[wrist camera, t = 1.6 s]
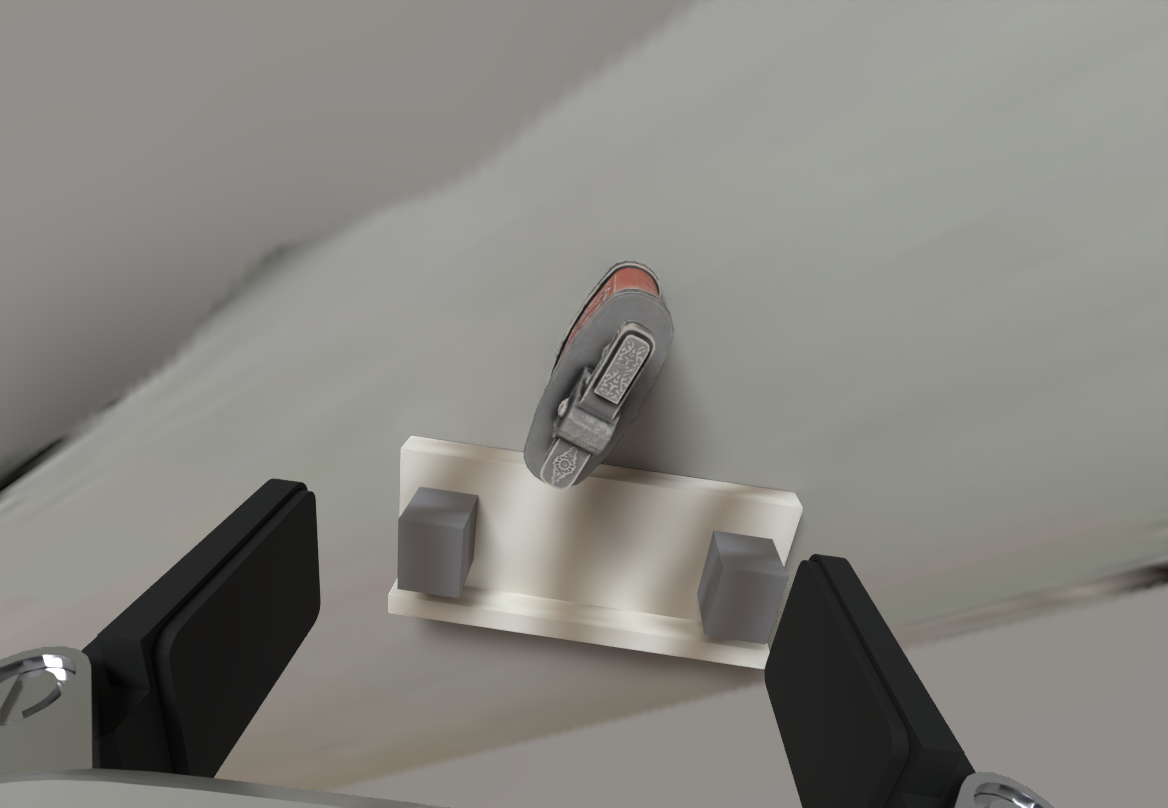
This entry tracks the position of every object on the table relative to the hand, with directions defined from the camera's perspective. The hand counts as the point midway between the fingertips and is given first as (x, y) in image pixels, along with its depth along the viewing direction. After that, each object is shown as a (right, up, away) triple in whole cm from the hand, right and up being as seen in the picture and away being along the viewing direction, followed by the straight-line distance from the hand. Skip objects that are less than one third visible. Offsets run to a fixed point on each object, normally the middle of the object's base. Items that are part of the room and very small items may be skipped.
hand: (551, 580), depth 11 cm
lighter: (+1, +6, +17) cm, 18 cm away
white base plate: (+1, -4, +20) cm, 21 cm away
